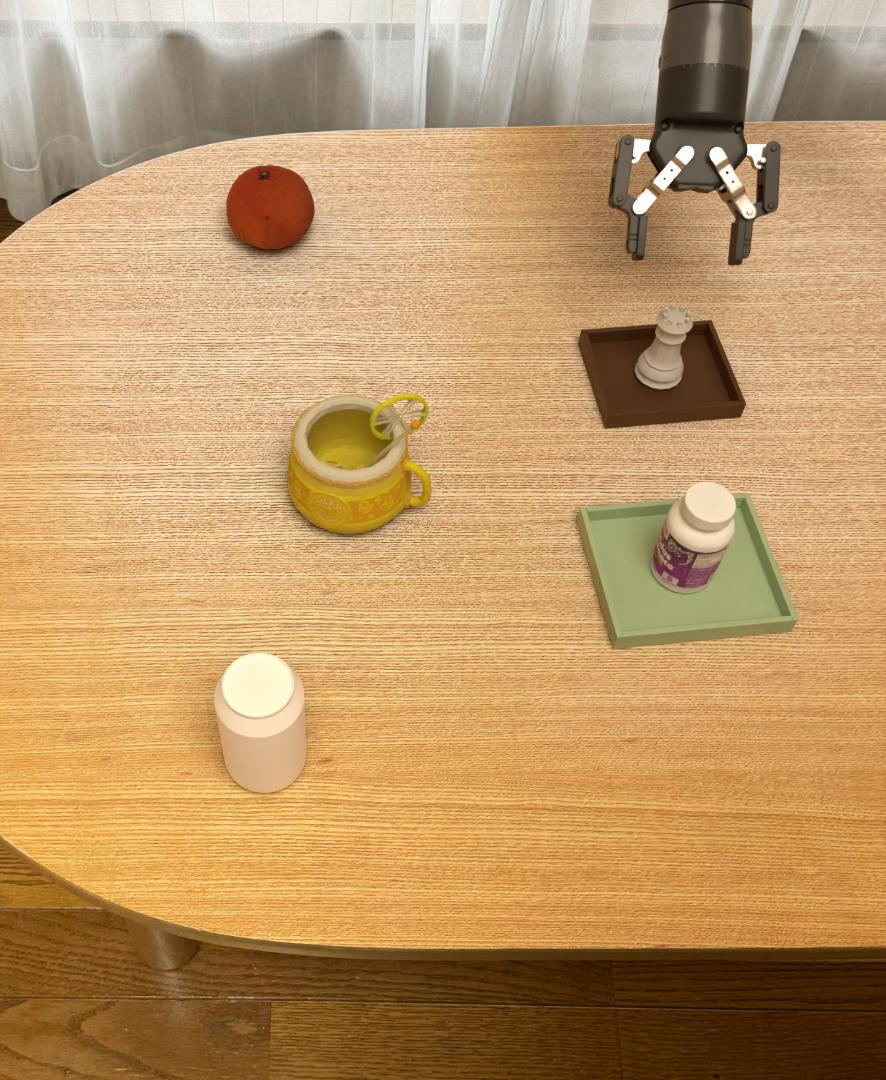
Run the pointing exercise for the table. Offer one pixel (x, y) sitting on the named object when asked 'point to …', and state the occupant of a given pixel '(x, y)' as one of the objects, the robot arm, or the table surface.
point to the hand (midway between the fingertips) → (686, 262)
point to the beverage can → (261, 722)
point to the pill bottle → (694, 538)
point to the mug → (354, 462)
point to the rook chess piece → (665, 350)
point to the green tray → (670, 617)
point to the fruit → (270, 207)
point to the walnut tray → (631, 403)
